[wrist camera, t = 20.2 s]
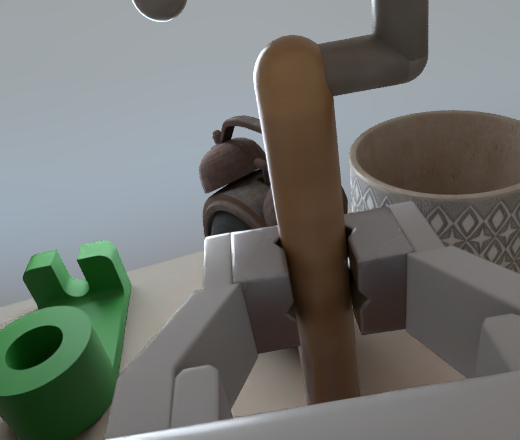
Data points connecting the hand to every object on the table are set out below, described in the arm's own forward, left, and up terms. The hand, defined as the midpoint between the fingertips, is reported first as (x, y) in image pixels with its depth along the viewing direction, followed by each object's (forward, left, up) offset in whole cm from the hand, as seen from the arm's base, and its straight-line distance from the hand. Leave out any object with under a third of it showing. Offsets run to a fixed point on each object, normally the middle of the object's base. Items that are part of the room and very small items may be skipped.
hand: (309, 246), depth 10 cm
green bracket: (+26, +18, -27) cm, 42 cm away
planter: (+26, -19, -27) cm, 42 cm away
